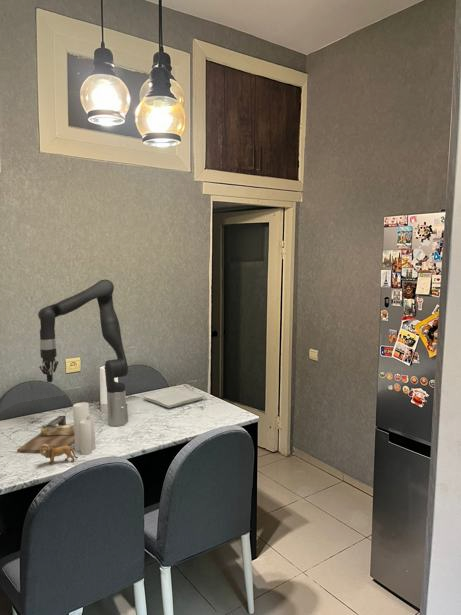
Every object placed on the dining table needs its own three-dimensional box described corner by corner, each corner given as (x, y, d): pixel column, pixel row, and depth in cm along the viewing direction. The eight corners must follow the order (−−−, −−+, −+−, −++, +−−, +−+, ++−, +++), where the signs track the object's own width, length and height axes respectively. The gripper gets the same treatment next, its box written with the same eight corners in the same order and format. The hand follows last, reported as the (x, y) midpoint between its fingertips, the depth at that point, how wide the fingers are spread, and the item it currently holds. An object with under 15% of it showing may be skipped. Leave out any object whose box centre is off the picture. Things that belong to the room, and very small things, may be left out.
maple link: (39, 436, 215) (39, 426, 214) (42, 432, 219) (42, 423, 218) (75, 434, 216) (75, 425, 215) (78, 431, 220) (77, 422, 219)
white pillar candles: (72, 448, 204) (70, 404, 202) (87, 444, 209) (85, 401, 207) (84, 455, 196) (82, 410, 194) (100, 450, 201) (98, 406, 199)
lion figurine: (41, 468, 184) (39, 447, 183) (40, 463, 189) (38, 442, 188) (79, 461, 191) (78, 440, 190) (77, 456, 196) (76, 436, 195)
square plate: (178, 392, 294) (178, 386, 293) (206, 401, 274) (205, 394, 273) (142, 401, 275) (141, 395, 275) (168, 411, 255) (168, 404, 255)
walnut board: (88, 430, 226) (87, 415, 226) (61, 453, 199) (60, 436, 198) (49, 429, 228) (48, 414, 228) (17, 452, 201) (16, 435, 200)
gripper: (47, 350, 223) (48, 385, 224) (62, 345, 235) (64, 378, 237) (33, 350, 224) (35, 384, 226) (49, 345, 237) (51, 378, 239)
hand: (50, 381), depth 231 cm, fingers closed
